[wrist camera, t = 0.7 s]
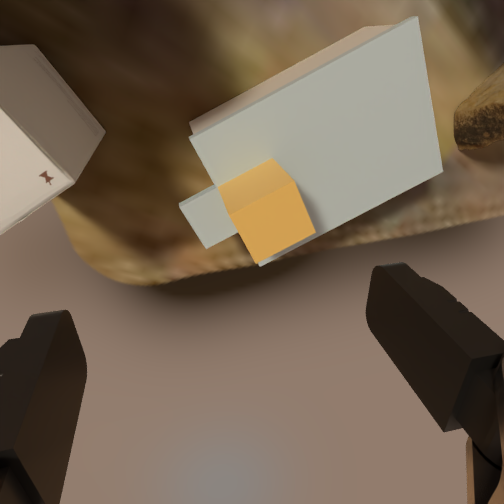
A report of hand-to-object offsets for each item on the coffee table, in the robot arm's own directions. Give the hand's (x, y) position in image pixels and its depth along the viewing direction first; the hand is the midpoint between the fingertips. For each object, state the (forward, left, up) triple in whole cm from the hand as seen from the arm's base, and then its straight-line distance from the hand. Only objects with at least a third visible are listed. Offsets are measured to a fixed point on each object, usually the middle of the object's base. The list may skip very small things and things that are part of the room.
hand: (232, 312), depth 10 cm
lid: (-7, +5, -19) cm, 21 cm away
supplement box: (+9, -6, -24) cm, 27 cm away
